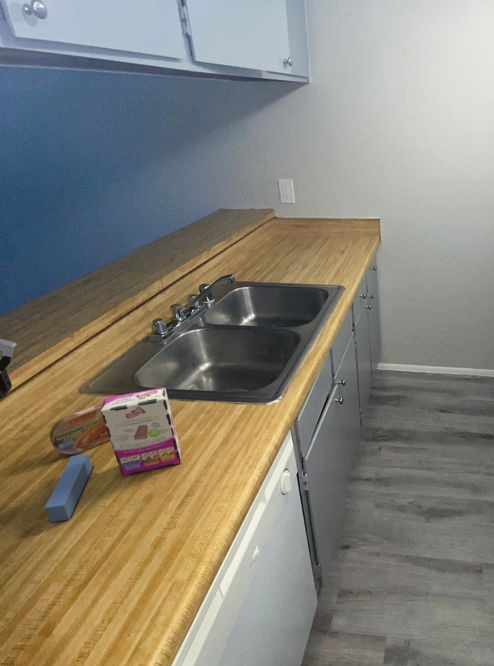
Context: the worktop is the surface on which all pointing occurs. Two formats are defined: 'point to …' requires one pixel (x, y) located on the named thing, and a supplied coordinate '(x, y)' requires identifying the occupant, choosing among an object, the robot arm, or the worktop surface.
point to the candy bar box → (141, 431)
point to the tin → (79, 431)
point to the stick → (68, 488)
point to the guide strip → (81, 492)
